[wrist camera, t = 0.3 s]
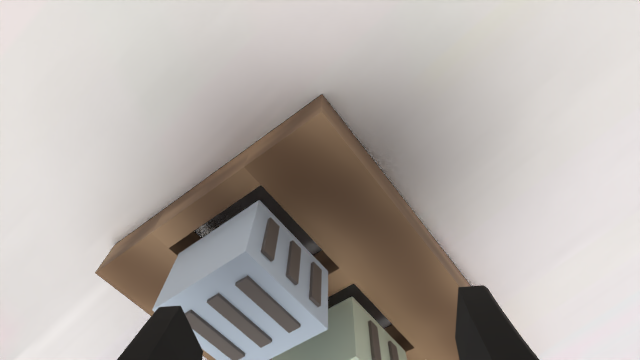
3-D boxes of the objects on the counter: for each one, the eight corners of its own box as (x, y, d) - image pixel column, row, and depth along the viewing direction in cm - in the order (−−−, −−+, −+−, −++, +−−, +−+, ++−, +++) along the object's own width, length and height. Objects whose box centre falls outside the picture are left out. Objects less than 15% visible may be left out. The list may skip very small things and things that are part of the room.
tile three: (249, 315, 22) (236, 379, 19) (178, 253, 20) (150, 312, 17) (330, 269, 20) (331, 330, 17) (262, 197, 18) (247, 252, 15)
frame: (350, 437, 31) (351, 469, 30) (114, 245, 23) (94, 272, 21) (530, 363, 27) (546, 395, 25) (322, 94, 19) (321, 111, 17)
